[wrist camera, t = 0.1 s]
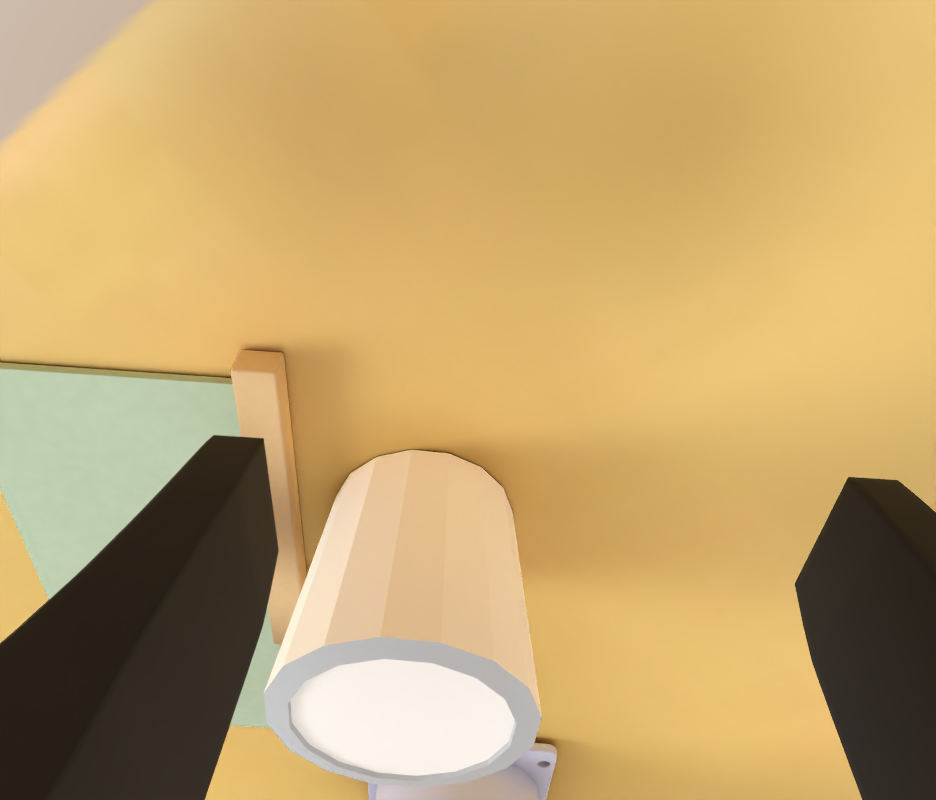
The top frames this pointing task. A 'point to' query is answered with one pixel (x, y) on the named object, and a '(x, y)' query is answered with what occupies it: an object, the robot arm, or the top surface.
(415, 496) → the beige short cylinder
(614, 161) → the top surface
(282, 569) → the stop batten
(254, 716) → the mat
